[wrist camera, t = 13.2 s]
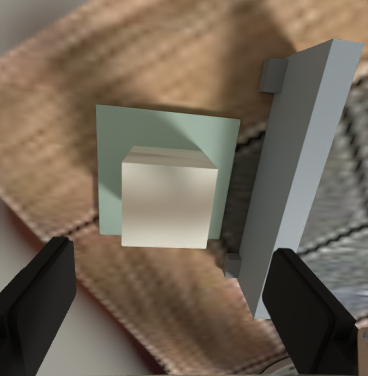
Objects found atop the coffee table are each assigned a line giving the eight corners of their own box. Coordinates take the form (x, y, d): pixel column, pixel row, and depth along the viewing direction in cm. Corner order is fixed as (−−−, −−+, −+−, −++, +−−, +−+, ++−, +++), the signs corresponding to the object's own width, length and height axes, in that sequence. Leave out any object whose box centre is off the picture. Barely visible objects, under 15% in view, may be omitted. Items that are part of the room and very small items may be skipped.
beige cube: (195, 211, 22) (205, 248, 16) (131, 208, 21) (120, 245, 16) (202, 150, 20) (218, 169, 14) (133, 145, 19) (120, 162, 14)
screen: (262, 273, 26) (289, 318, 21) (221, 272, 26) (237, 318, 20) (321, 64, 19) (387, 47, 13) (264, 56, 18) (309, 35, 13)
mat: (217, 235, 24) (218, 239, 23) (101, 230, 23) (99, 234, 22) (237, 118, 20) (240, 119, 19) (98, 104, 18) (95, 104, 18)
